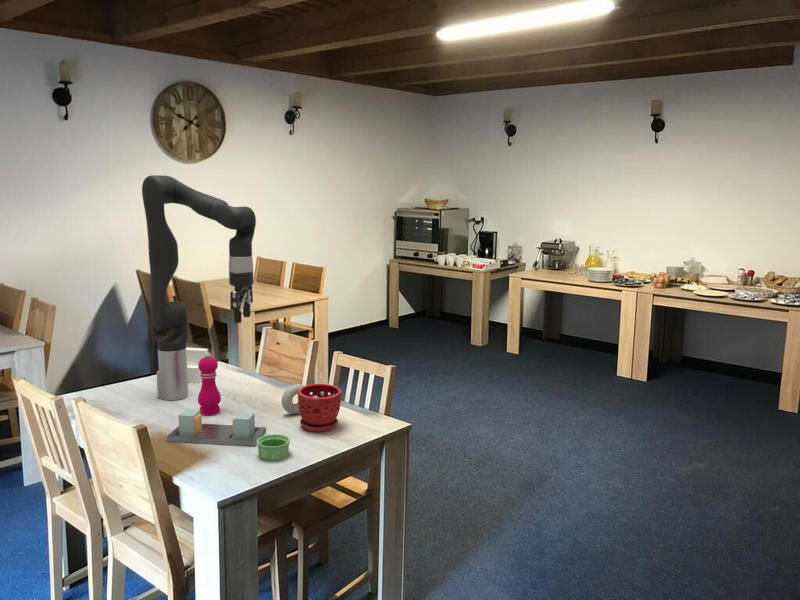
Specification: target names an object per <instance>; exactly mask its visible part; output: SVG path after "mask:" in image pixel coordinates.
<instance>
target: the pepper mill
mask: <svg viewBox="0 0 800 600" xmlns="http://www.w3.org/2000/svg"><path fill="white" fill-rule="evenodd" d="M218 364H219V363H218V360H217V359H216V358H214V357H213V356H212V357H211V353H210V352H208V353H206V354H205V358H202V359H201V360H200V361H199V364H198V368H199V370H200V371H201V373H200V374H201V376H200V377H201V378H202V383H201V387H200V390H199V393H198V396H197V403H198V405H199V406H200V407H199V410H200V413H201V414H202V416H215V415H217V414H219V413H220V412H221V406H220V405H219V404H220V403H221V401H222V399H221V398H222V397H221V396H222V395H221V393H220V391H219V389H218V387H217V384H216V378H217V371H216V370H217V369H218V367H219V365H218Z"/></svg>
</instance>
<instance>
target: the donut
mask: <svg viewBox="0 0 800 600" xmlns="http://www.w3.org/2000/svg"><path fill="white" fill-rule="evenodd" d="M304 386H305V385H303V384H301V383H295V384H291V385H290V386H289V387H287V388H286V389H285V391H284V392H283V394H282V397H281V405H282V407H283V409H284V411H285V412H286V413H288V414H291V415H298V414H300V411H299V406H298V402H296V403H294V402H293V399H294V397H295V396H298V391H299V389H300V388H302V387H304Z"/></svg>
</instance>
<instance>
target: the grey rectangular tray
mask: <svg viewBox="0 0 800 600" xmlns="http://www.w3.org/2000/svg"><path fill="white" fill-rule="evenodd" d="M266 432H267V427H266V426H255V434H254V435H253V436H252V438H251V439H250V440H247V439H234V437H233V424H230V425H229V424H214V423H202V430H201V432H200V433H199V434H198V435H197V436H180V435H179V425H178V426H177V427H175V429H173V430H172V431H171V432H170V433H169V434H167V436H166V442H170V441H176V442H175V443H189V444H190V443H192V444H205V445H208V444H209V445H221V446H222V445H223V446H236V445H237V447H239V446H240V447H253V448H254V447H255V446H256V445H257V440H258V439H259V438H260V437H262V436H265V435H266Z"/></svg>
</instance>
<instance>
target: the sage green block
mask: <svg viewBox="0 0 800 600" xmlns="http://www.w3.org/2000/svg"><path fill="white" fill-rule="evenodd" d="M202 416H203V415H202V414H201V413H200V409H196V408H192V409H191V408H186V409H184V410H183V411H182V412H180V414H178V416H177V417H178V418H177V420H178V426H179V435H180V436H197V435H198V434H199V433H200V432H201V431H202V424H203V422H202V421H203V418H202Z"/></svg>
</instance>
